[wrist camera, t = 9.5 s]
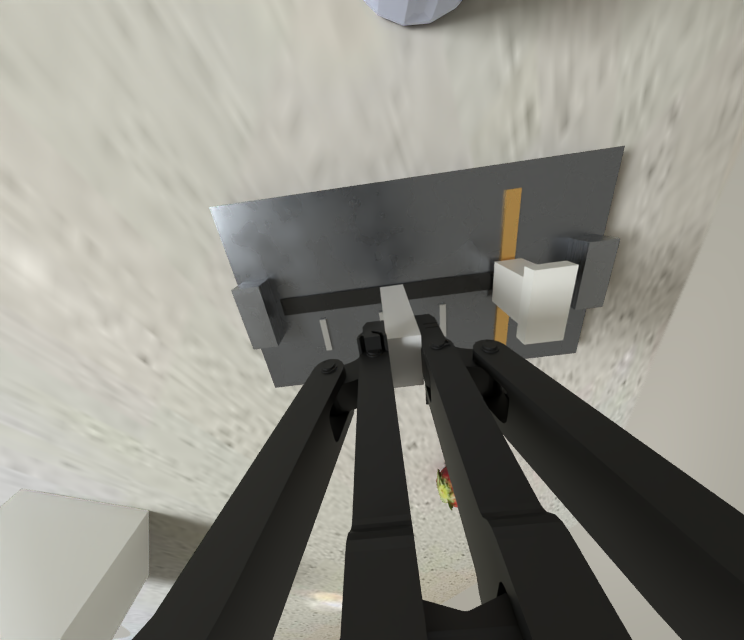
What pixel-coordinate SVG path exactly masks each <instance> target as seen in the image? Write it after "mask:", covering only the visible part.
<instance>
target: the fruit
mask: <svg viewBox="0 0 744 640" xmlns="http://www.w3.org/2000/svg"><path fill="white" fill-rule="evenodd" d="M436 482H437V489H438V492H439V495H440V499H441V500H442V502H444V503H448V505H449V507H450V509H451V510H452V508H453V506H454V507H458V506H457V502H456V499H455V495H454V492H453V488H452V485H451V481H450V477H449V474H448V470H447V467H445V468H444V469H443V470H442V471H441V472H440V470H439V469H438V472H437V479H436Z"/></svg>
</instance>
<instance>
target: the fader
mask: <svg viewBox="0 0 744 640" xmlns="http://www.w3.org/2000/svg"><path fill="white" fill-rule="evenodd" d="M578 266H579V265H578V264H575V263H572V262H569V261H560V262H552V263H544V264H535V263H532V262H530V261H527V260H525V259H523V258H519V259H512V260H504V261H496V262H495V264H494V279H493V293H492V302H493V303H495V304H496V305H497V306H498V307H499V308H500V309H502V310H503V311H504V312H505V313H506V314H507V315H509V316H510V317H511V318H512V319H513V320H514V321H515V322H517V323H518V326H517V334H516V337H517V338H518V339H519V340H520V341H521V342H522V343H523V344H524V345H526V344H534V343H543V342H551V341H560V340H563V338H564V333H565V329H566V324H567V319H568V314H569V309H570V305H571V300H572V295H573V290H574V285H575V280H576V276H577V271H578Z"/></svg>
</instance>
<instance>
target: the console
mask: <svg viewBox="0 0 744 640" xmlns="http://www.w3.org/2000/svg"><path fill="white" fill-rule="evenodd" d="M624 147H625V146H620V147H614V148H607V149H600V150H593V151H587V152H580V153H573V154H566V155H560V156H553V157H546V158H539V159H533V160H526V161H519V162H512V163H506V164H499V165H492V166H485V167H479V168H472V169H465V170H458V171H451V172H445V173H438V174H431V175H424V176H418V177H411V178H404V179H397V180H391V181H384V182H377V183H370V184H364V185H357V186H350V187H343V188H337V189H330V190H323V191H316V192H310V193H303V194H296V195H289V196H283V197H276V198H269V199H262V200H256V201H249V202H242V203H235V204H229V205H222V206H215V207H209V208H210V211H211V213H212V216H213V219H214V222H215V224H216V227H217V230H218V232H219V235H220V238H221V241H222V243H223V246H224V249H225V252H226V254H227V257H228V260H229V262H230V265H231V268H232V271H233V273H234V276H235V279H236V282H237V284H238V286H237V287H235V288H234V289H232V290H231V291H232V294H233V296H234V299H235V302H236V304H237V307H238V309H239V312H240V315H241V317H242V320H243V323H244V325H245V328H246V330H247V333H248V336H249V338H250V341H251V344H252V346H253V349H261V350H262V353H263V355H264V358H265V361H266V363H267V366H268V369H269V372H270V374H271V377H272V380H273V383H274V385H275V388H276V387H285V386H293V385H302V384H304V383H305V382H306V380H307V379H308V377H309V375H310V374H311V372H312V371H313V369H314V368H315V367H316V366H317V365H318V364H319V363H321V362H322V361H325V360H328V359H338V360H340V361H342V362H343V364H344V365H345V364H348V363H350V362H353V361H355V360H356V359H358V358H359V350H358V344H357V337H358V335H359V334H361V333H362V331H363V326H364V325H365V324H366V322H373V321H381V320H384V317H383V309H382V301H381V293H380V287H386V286H394V285H401V284H403V287H404V289H405V292H406V295H407V298H408V300H409V303H410V306H411V309H412V311H413V314H414V316H415V315H423V314H430V315H432V316H433V317H435V319H436V321H437V323H438V325H439V327H440V329H441V331H442V333H443V334H444V336H445V338H447V339H449V340H451V341H452V342H453V344H454V346H455V347H459V348H466V349H473V345H474V344H475V342H477V341H480V340H486V339H490V340H495V341H499V342H501V343H503V344H505V345H506V346H507V347H509V348H510V349H512V350H513V351H514V352H516V353H517V354H519V355H520V356H521V357H523V358H524V359H527V358H535V357H544V356H553V355H561V354H570V353H576V349H577V345H578V341H579V337H580V333H581V328H582V324H583V320H584V316H585V312H586V309H587V308H595V307H602V306H603V302H604V298H605V295H606V291H607V287H608V283H609V279H610V276H611V272H612V268H613V264H614V261H615V257H616V253H617V249H618V246H619V242H620V238H615V237H609V236H604V231H605V227H606V223H607V219H608V215H609V210H610V206H611V202H612V198H613V194H614V189H615V185H616V181H617V177H618V172H619V168H620V164H621V160H622V156H623V151H624ZM519 258H523V259H525V260H527V261H530V262H532V263H535V264H544V263H552V262H560V261H569V262H572V263H575V264H578V265H579V266H578V271H577V276H576V280H575V285H574V290H573V295H572V300H571V305H570V309H569V314H568V319H567V324H566V329H565V333H564V338H563V340H560V341H551V342H543V343H534V344H526V345H524V344H523V343H522V342H521V341H520V340H519V339H518V338H517V337H516V334H517V326H518V323H517V322H515V321H514V320H513V319H512V318H511V317H510V316H509V315H507V314H506V313H505V312H504V311H503V310H502V309H500V308H499V307H498V306H497V305H496V304H495V303H493V302H492V293H493V279H494V264H495V262H496V261H504V260H512V259H519Z"/></svg>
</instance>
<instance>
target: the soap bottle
mask: <svg viewBox="0 0 744 640" xmlns="http://www.w3.org/2000/svg"><path fill="white" fill-rule="evenodd" d="M364 1H365V2H366V4H367V5H368V6H369V7H370V8H371V9H372V10H373V11H374V12H375V13H376V14H377V15H378V16H381V17H383V18H386V19H388V20H391V21H393V22H395V23H398V24H400V25H403V26H405V25H416V24H427V23H431V22H433V21H435V20H436V19H438V18H440V17H442V16H443V15H445V14H447V13H448V12H450V11H452V10H453V9H455V8H456V7H457V6H458V5H459V4H460V2H461V1H462V0H364Z"/></svg>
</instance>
